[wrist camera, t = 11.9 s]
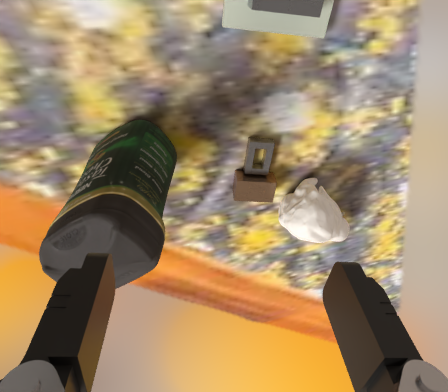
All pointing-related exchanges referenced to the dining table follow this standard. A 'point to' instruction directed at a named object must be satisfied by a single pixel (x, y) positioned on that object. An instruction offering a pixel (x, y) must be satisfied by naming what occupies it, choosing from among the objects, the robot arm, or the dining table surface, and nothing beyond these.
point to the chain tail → (256, 174)
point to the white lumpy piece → (312, 214)
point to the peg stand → (275, 20)
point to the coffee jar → (116, 205)
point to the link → (289, 6)
